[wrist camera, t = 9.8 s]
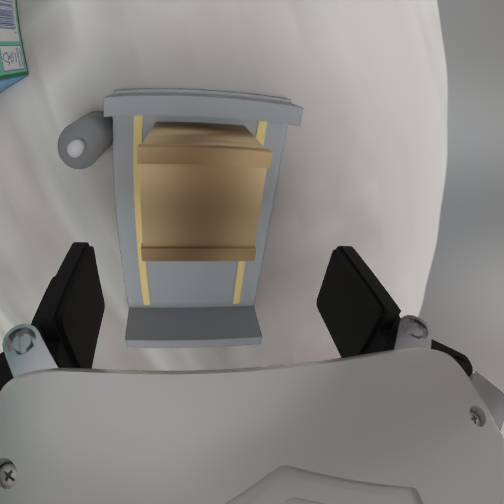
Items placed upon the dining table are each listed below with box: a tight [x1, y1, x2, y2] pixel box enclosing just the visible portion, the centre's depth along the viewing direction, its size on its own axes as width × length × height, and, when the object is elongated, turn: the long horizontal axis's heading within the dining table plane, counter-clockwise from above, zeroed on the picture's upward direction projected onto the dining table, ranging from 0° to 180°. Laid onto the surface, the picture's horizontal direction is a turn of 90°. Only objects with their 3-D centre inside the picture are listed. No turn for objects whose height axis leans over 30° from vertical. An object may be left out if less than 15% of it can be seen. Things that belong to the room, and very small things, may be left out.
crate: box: [137, 122, 273, 261], centre depth 17 cm, size 6×6×7 cm
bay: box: [58, 89, 303, 348], centre depth 21 cm, size 15×20×5 cm
